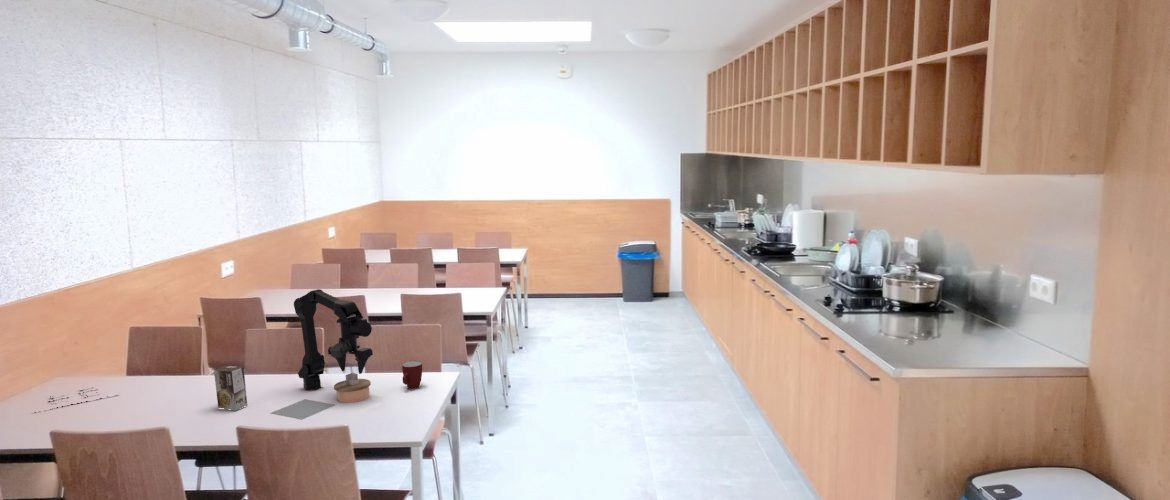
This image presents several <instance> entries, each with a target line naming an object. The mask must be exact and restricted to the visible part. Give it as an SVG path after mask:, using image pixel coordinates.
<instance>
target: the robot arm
mask: <svg viewBox="0 0 1170 500" xmlns="http://www.w3.org/2000/svg"><path fill="white" fill-rule="evenodd" d="M318 304H320V305H322V306H324V307H326V308H328V309H329V310H332V311H333V314H334V315H335V316H336V317H338V319H337V320H336V321H335V322H336V323H338V324H340V335H341V336H340V337H339V338H338V342H337V343H335V344H334V345H331V346H329V347H328V350H327V354H328V355H330V357H332V358H334V359H335V360H336V361H337V364H338V365H339V368H340V370H341V372H345V370H346V361H347V354H349V355H354V357H355V358H354V360H355V361H356V362H357V371H358V374H359V375H362V373H363V372H364V368H365V366H366V364H367V362H368V359H369V358H370V357H372V356H373V353H374V352H373V349H372V348H370V347H361V346H360V345H359V344H358V339H359V338H360V337H363V338H368V337H369V336H370V335H371V333H372V330H373V327H372V325H371V323H370V322H368V320H367V318H364V316H363V314H362V312H361V311H360V309H359V308H358V306H357V303H355V302H354V301H351V300H343V299H340V298H337V297H335V296H333V295H331V294H328V293H326V292H325V291H323V290H322V289H313V290H310V291H309V292H307V293H306V294H304V295H302V296H300V297H297V298H295V300H294V301H293V308H294V312H295V315H296V316H298V318H299V319H300V324H301V333H302V338H303V347H304V355H303V358H302V360H301V365H302V366H301V368H300V369H299V371H298V372H297V375H298V378H300V379H302V381H303V389H304V390H305V391H317V390H320V389H324V387H323V386H322V383H321V377H320V375H323V374H324V370H325V368H326V367H325V365H326V361H325V356H324V354H321V353H320V352H319V349H318V343H317V336H316V335H317V334H316V327H315V326H316V325H315V320H314V317H315V314H316V312H317V305H318Z"/></svg>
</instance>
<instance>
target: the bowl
mask: <svg viewBox="0 0 1170 500" xmlns="http://www.w3.org/2000/svg"><path fill="white" fill-rule="evenodd" d="M370 393H371V392H370V386H369V387H367V388H365V389H362V390H358V391H351V392H340V391H336V400H338V401H339V402H341V403H355V402H360V401H363V400H366V399H368V398H369V397H370V395H371V394H370Z"/></svg>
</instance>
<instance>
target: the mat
mask: <svg viewBox="0 0 1170 500" xmlns="http://www.w3.org/2000/svg"><path fill="white" fill-rule="evenodd" d="M335 406H336V404H335V403H330V402H329V403H328V402H324V401H317V400H311V399H308V398H307V399H306V398H305V399H302V400H300V401H297V402H295V403H292V404H289V405H287V406H284V407H282V408H280V409H277V410H274V411H271V412H269V414H271V415H277V416H280V417H281V416H283V417H286V418H292V419H297V420H304V419H307V418H309V417H311V416H313V415H316V414H319V413H321V412H323V411H325V410H328V409H330V408H333V407H335Z"/></svg>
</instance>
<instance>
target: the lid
mask: <svg viewBox="0 0 1170 500" xmlns="http://www.w3.org/2000/svg"><path fill="white" fill-rule="evenodd" d="M358 374H359V373H355V372H350V373H348V374H345V379H344V380H342V381H338V382H336V383H335V384H334V385H333V389H334V390H335V391H336V392H337V391H340V392H351V391H358V390H362V389H365V388H367V387H369V388H370V386H371V385H372V384H371V380H369V379H366V378H359V377H358V376H359V375H358Z"/></svg>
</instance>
